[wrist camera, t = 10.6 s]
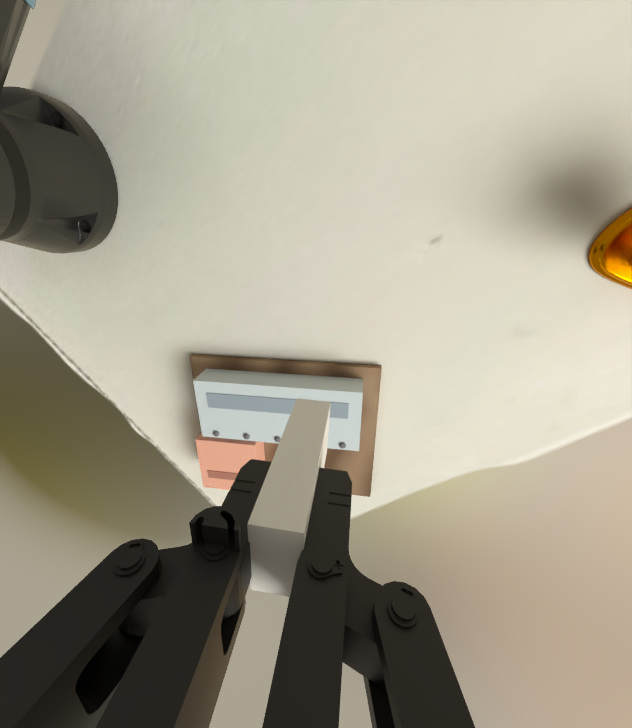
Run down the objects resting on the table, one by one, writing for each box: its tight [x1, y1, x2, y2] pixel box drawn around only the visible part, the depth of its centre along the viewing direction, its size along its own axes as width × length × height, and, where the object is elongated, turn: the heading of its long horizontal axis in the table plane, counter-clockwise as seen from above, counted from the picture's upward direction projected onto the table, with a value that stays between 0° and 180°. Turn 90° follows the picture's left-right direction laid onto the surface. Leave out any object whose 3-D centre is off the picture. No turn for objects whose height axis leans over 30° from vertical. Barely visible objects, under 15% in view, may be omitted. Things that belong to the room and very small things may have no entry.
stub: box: [195, 432, 265, 490], centre depth 45 cm, size 8×8×4 cm
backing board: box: [190, 354, 381, 497], centre depth 45 cm, size 24×20×1 cm
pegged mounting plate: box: [193, 368, 363, 451], centre depth 41 cm, size 20×8×4 cm, turn 90°
